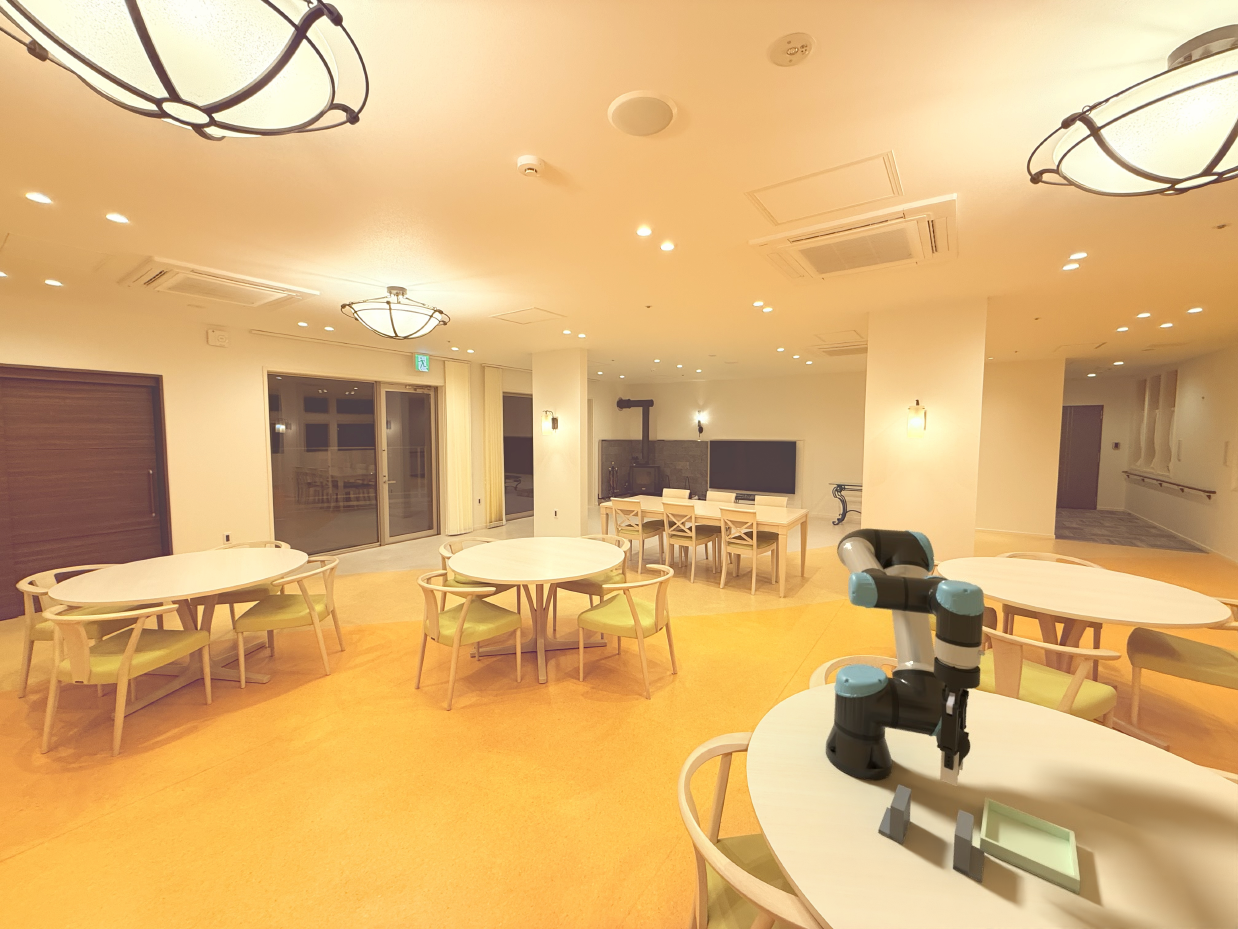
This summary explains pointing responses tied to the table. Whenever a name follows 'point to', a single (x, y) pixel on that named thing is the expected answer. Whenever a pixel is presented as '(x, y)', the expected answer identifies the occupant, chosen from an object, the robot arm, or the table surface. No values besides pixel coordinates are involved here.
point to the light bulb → (959, 745)
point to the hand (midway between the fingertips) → (951, 774)
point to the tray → (1030, 844)
